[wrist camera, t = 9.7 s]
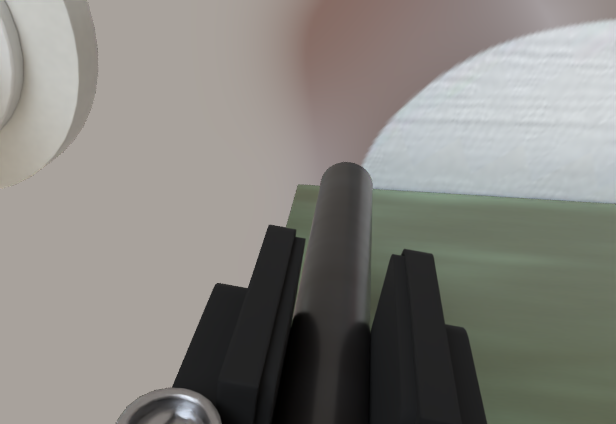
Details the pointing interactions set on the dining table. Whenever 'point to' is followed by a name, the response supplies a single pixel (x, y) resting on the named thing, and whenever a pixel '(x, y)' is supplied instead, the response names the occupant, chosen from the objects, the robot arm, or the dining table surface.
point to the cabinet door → (456, 298)
